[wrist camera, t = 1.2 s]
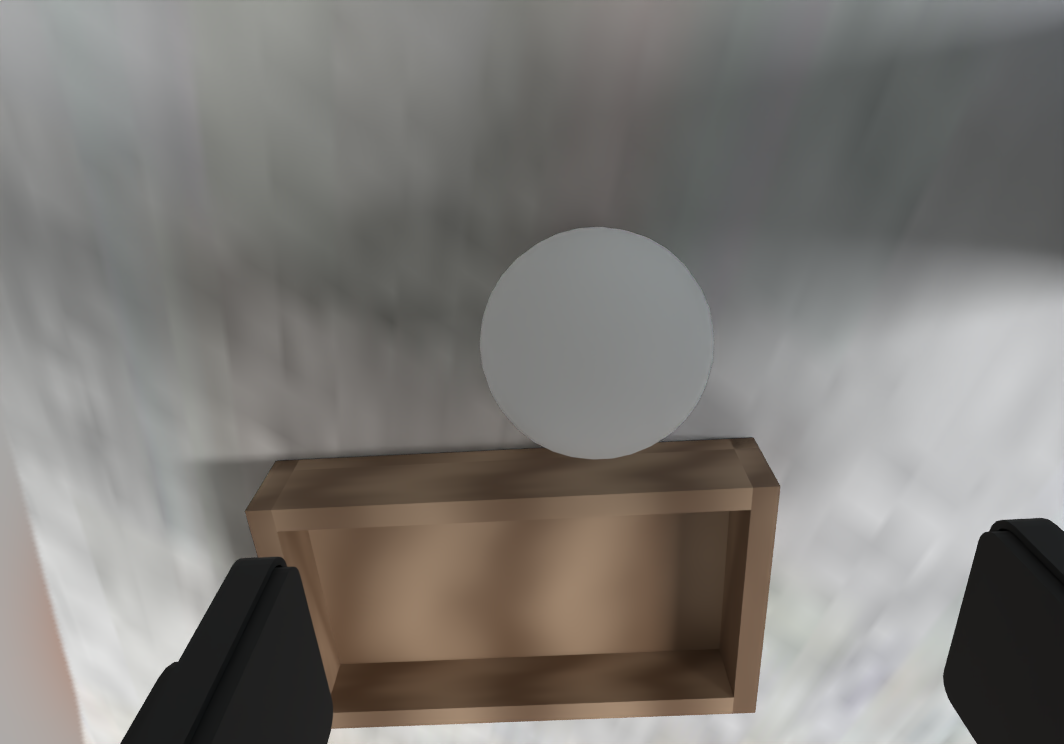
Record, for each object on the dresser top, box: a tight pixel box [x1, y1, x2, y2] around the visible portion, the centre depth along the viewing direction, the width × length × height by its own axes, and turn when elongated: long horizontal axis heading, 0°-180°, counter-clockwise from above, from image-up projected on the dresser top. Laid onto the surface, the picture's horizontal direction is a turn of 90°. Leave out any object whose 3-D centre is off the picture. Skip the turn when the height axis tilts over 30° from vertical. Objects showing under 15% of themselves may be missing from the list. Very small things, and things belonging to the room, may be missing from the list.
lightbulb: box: [480, 227, 714, 459], centre depth 21 cm, size 6×6×11 cm
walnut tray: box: [245, 438, 780, 729], centre depth 30 cm, size 20×12×4 cm, turn 93°
